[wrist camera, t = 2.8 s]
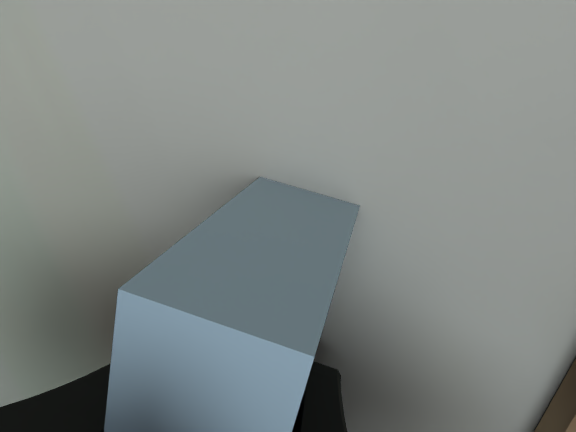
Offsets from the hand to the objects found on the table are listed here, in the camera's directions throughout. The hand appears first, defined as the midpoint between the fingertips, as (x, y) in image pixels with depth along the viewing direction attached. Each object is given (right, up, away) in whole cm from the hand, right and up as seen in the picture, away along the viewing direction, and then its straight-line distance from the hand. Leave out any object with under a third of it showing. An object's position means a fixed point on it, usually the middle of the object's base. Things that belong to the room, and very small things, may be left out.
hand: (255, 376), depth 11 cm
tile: (0, +1, +1) cm, 2 cm away
